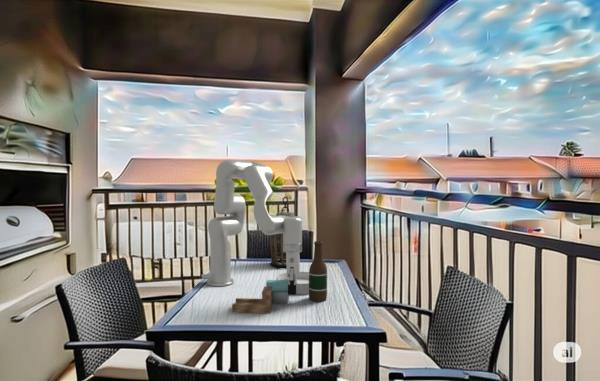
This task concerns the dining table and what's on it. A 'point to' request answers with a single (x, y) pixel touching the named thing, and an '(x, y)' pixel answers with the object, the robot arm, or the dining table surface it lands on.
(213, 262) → the robot arm
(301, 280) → the dish
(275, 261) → the lantern
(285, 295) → the cradle block
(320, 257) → the beer bottle
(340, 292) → the dining table surface
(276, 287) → the teal block
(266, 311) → the brown wooden bracket
